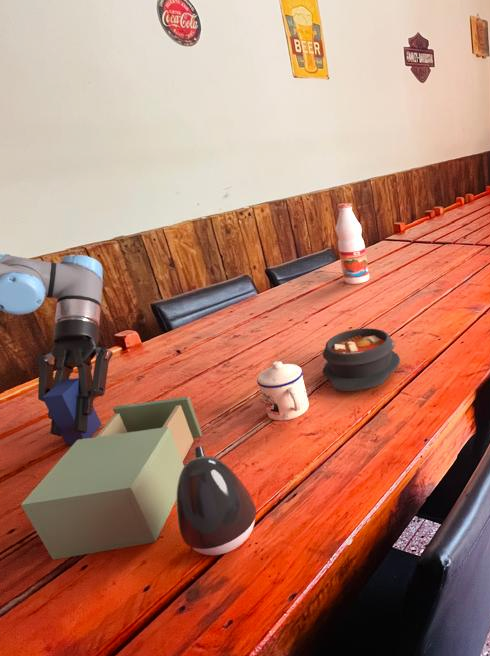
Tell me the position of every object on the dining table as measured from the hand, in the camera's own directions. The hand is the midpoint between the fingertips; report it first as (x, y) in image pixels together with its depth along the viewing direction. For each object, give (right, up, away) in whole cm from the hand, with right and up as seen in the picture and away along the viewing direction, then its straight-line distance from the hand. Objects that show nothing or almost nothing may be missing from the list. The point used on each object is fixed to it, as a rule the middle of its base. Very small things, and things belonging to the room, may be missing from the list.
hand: (68, 432), depth 101 cm
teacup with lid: (+41, +3, +8) cm, 42 cm away
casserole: (+53, +11, +24) cm, 59 cm away
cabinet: (+23, -11, -17) cm, 31 cm away
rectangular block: (-1, -1, +5) cm, 5 cm away
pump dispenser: (+43, -13, -23) cm, 51 cm away
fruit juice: (+36, +43, +90) cm, 106 cm away
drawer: (+20, -3, -4) cm, 21 cm away
